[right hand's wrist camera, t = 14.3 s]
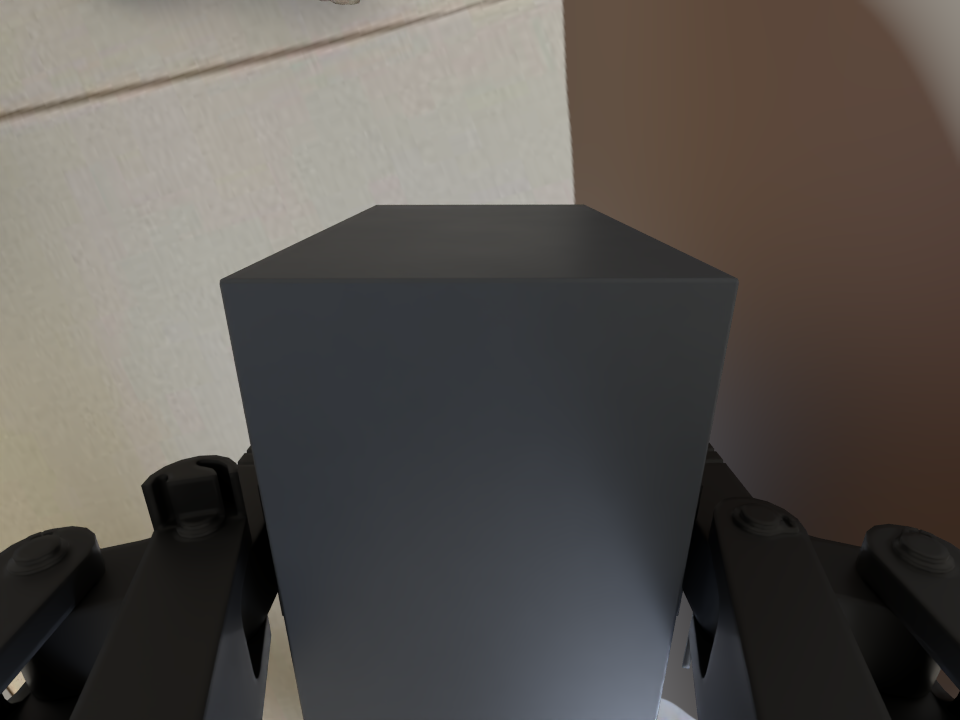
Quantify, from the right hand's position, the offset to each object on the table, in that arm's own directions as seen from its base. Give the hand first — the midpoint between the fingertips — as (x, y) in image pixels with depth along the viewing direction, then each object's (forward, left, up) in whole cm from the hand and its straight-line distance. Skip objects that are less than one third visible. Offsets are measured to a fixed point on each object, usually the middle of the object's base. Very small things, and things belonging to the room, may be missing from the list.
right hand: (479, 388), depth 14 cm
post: (+20, 0, -1) cm, 20 cm away
